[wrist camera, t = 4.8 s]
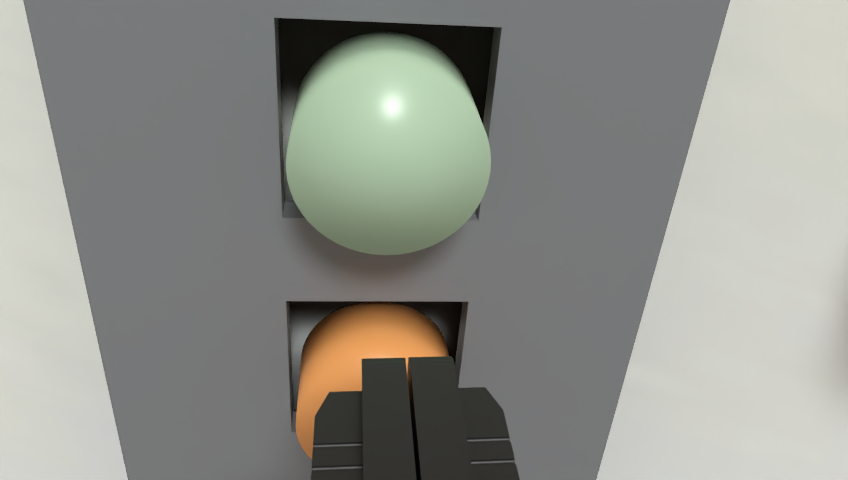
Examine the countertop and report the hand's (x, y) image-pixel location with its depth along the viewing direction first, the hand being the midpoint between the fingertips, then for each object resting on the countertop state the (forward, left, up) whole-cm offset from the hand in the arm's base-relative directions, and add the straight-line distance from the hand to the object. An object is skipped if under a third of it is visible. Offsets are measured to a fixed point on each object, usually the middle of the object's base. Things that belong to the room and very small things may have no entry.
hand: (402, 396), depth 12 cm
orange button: (0, +5, -6) cm, 8 cm away
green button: (0, -2, -6) cm, 7 cm away
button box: (0, +5, -9) cm, 10 cm away
